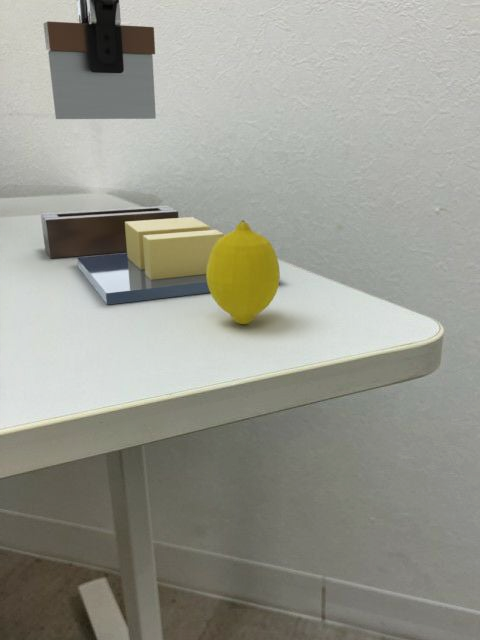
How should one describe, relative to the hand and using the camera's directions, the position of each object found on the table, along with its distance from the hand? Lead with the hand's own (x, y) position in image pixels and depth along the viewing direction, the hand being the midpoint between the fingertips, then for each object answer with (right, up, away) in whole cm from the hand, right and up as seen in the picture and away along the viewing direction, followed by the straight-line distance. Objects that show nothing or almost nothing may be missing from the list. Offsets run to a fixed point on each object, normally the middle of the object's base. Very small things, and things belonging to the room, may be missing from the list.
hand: (103, 70), depth 65 cm
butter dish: (+7, -20, -1) cm, 22 cm away
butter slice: (+9, -21, -4) cm, 23 cm away
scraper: (0, -4, +2) cm, 4 cm away
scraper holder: (-1, -16, +8) cm, 18 cm away
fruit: (+15, -26, -13) cm, 32 cm away
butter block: (+6, -19, 0) cm, 20 cm away
